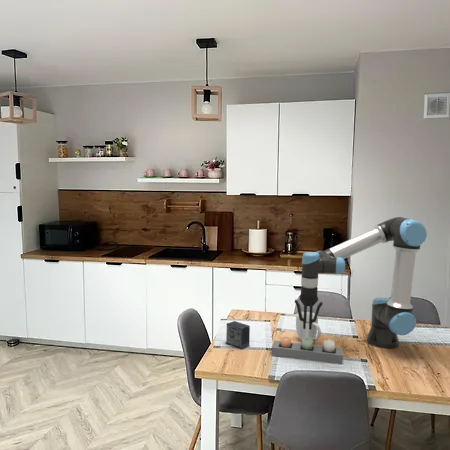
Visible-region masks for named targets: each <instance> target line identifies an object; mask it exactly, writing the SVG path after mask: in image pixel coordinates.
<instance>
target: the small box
mask: <svg viewBox="0 0 450 450" xmlns="http://www.w3.org/2000/svg"><path fill="white" fill-rule="evenodd" d="M250 328H251V326H250V325H248V324H245V323H242V322H239V321H236V320H234V321H231V322H227V323H226V334H225V336H226V340H225V344H227V345H229V346H232V347H234V348H238V349H240V350H242V349H243V350H244V349H245V348H247V347H249V346H250V338H251V337H250V330H251V329H250Z"/></svg>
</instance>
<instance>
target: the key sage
mask: <svg viewBox="0 0 450 450" xmlns="http://www.w3.org/2000/svg"><path fill="white" fill-rule="evenodd" d="M301 343H302V348H303V349H312V348H313V345H314V339H312V338H310V337H303V338H302V341H301Z"/></svg>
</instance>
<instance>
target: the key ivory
mask: <svg viewBox="0 0 450 450" xmlns="http://www.w3.org/2000/svg"><path fill="white" fill-rule="evenodd" d="M323 346H324V351H327V352H334V351H335V347H336V341H335V340H333V339H328V338H327V339H324V340H323Z"/></svg>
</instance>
